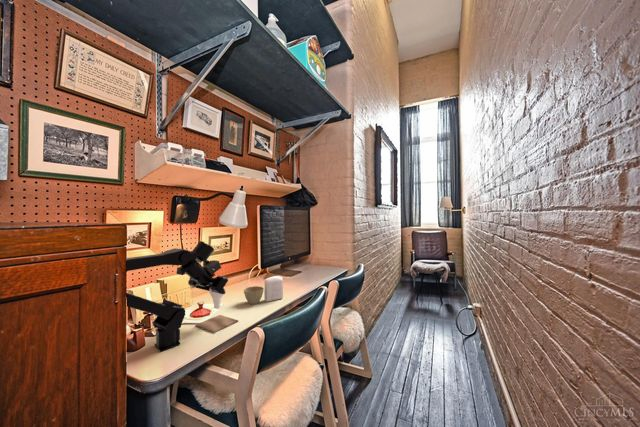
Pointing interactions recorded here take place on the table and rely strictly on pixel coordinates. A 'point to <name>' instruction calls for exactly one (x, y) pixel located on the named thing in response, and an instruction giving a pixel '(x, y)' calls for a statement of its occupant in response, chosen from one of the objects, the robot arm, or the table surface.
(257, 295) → the flower pot
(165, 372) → the table surface
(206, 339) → the table surface
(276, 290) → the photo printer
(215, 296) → the lightbulb
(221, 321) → the coaster
